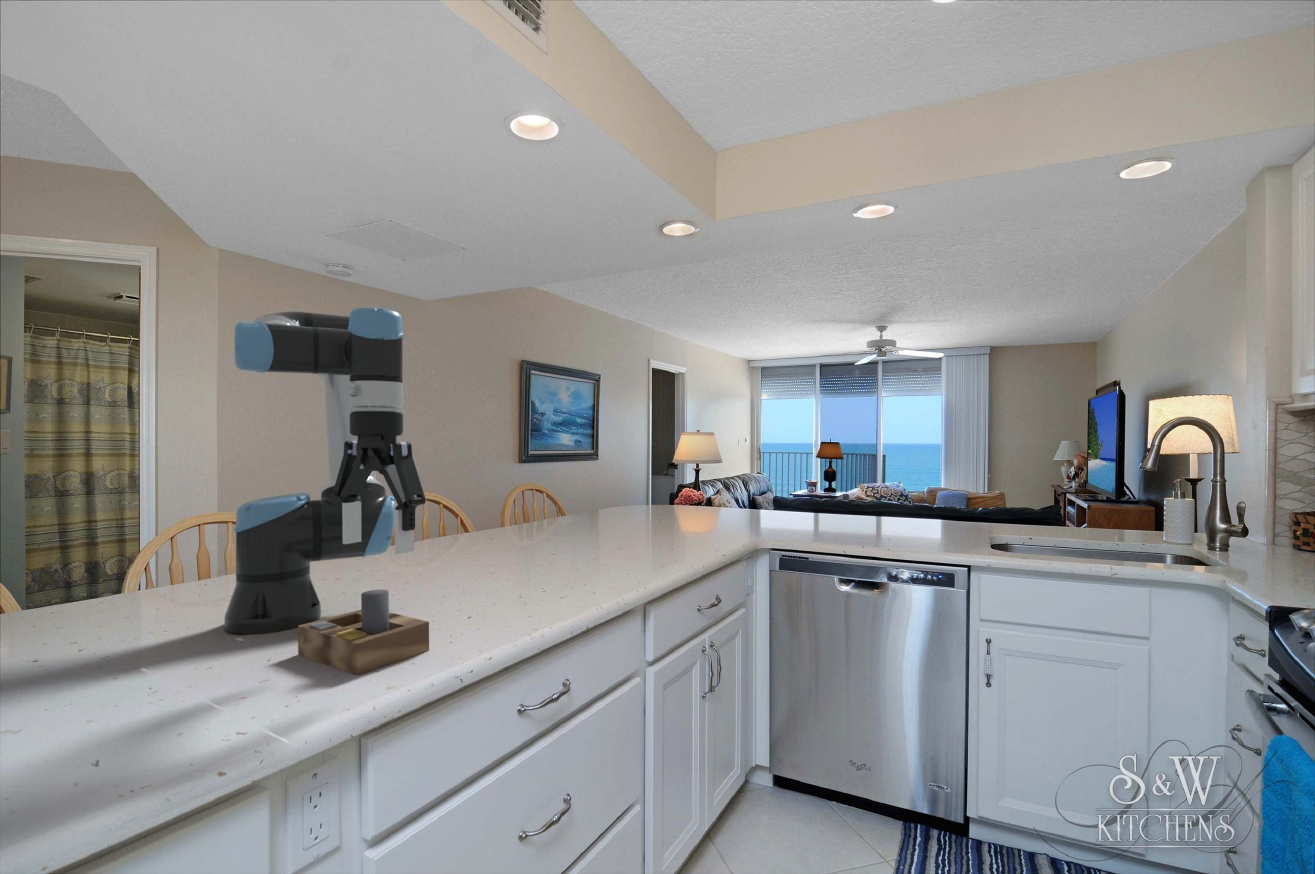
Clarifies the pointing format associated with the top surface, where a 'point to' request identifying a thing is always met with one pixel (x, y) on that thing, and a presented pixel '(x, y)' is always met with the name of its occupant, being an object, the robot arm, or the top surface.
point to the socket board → (361, 642)
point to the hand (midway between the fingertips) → (377, 547)
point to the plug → (375, 611)
